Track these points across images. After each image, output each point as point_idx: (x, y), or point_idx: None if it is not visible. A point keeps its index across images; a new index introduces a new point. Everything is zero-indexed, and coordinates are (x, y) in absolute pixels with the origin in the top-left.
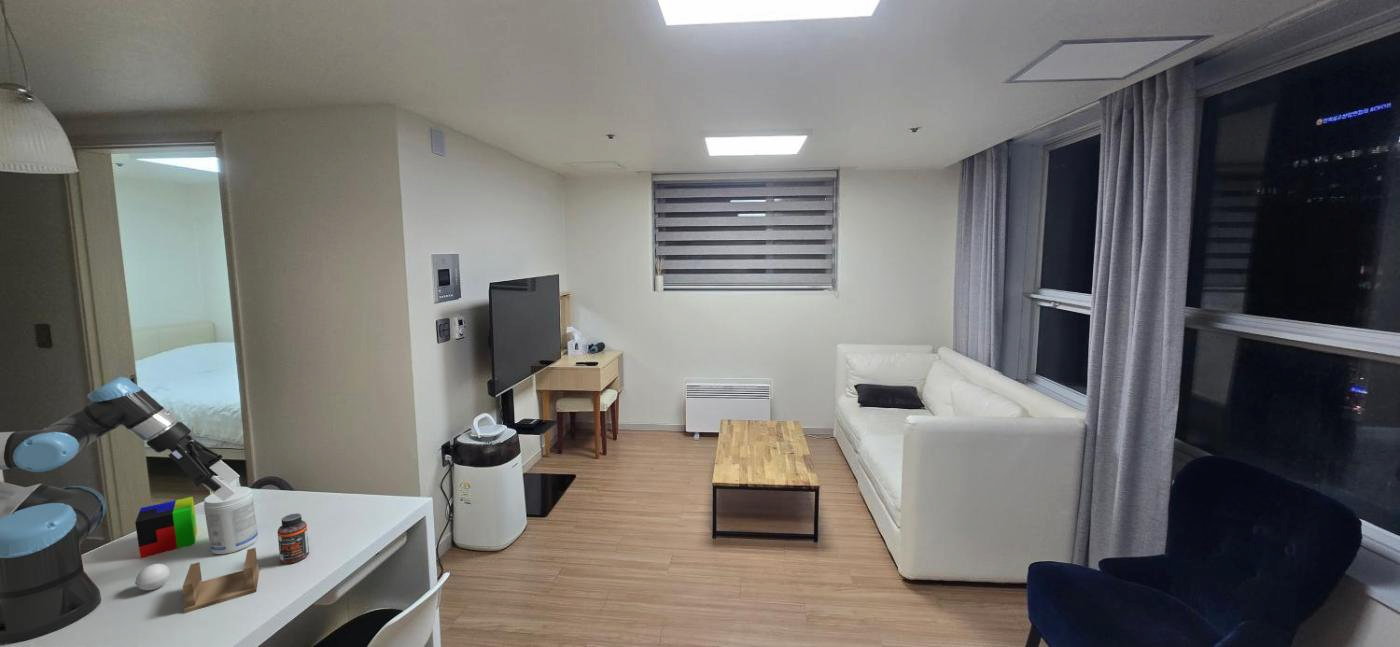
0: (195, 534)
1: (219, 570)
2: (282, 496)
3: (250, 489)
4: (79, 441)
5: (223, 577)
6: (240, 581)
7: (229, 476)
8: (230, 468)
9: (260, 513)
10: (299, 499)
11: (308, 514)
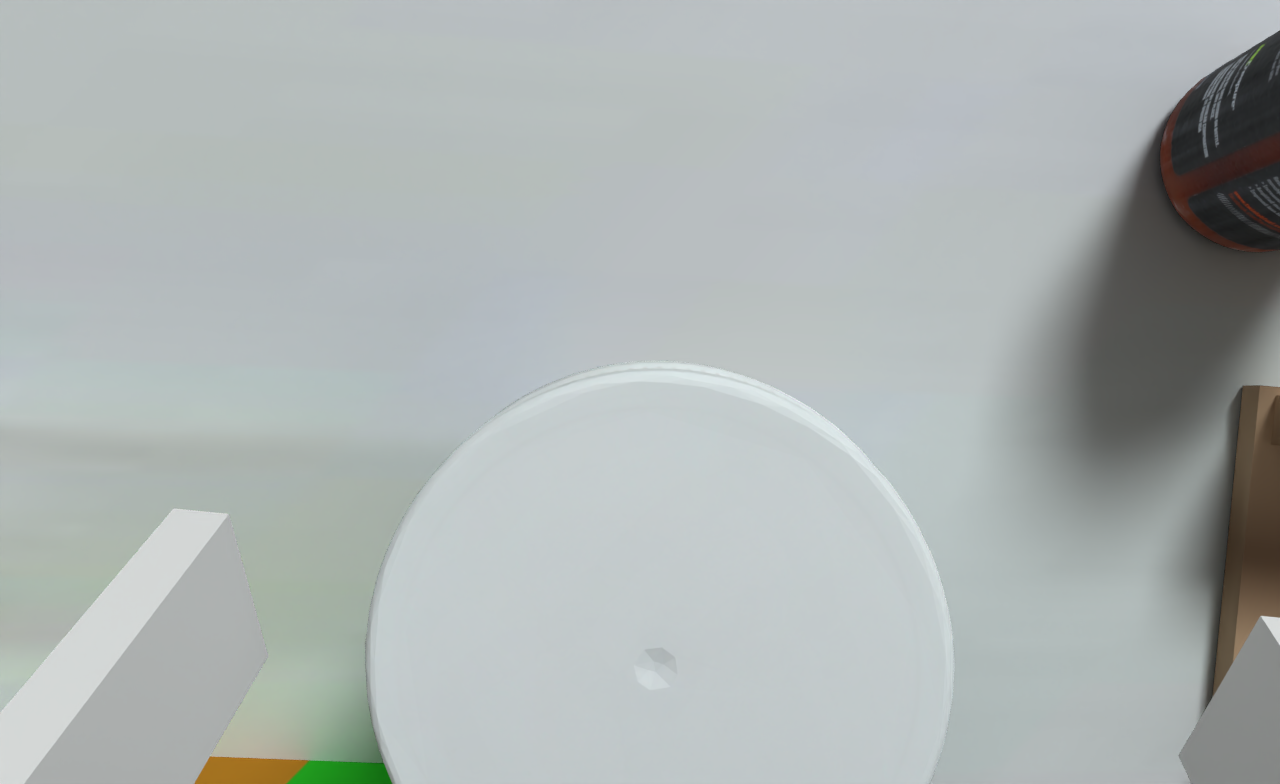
0: (262, 771)
1: (1048, 619)
2: None
3: (663, 372)
4: None
5: (1271, 602)
6: None
7: (189, 683)
8: (36, 712)
9: (110, 331)
10: (10, 37)
11: (428, 2)
